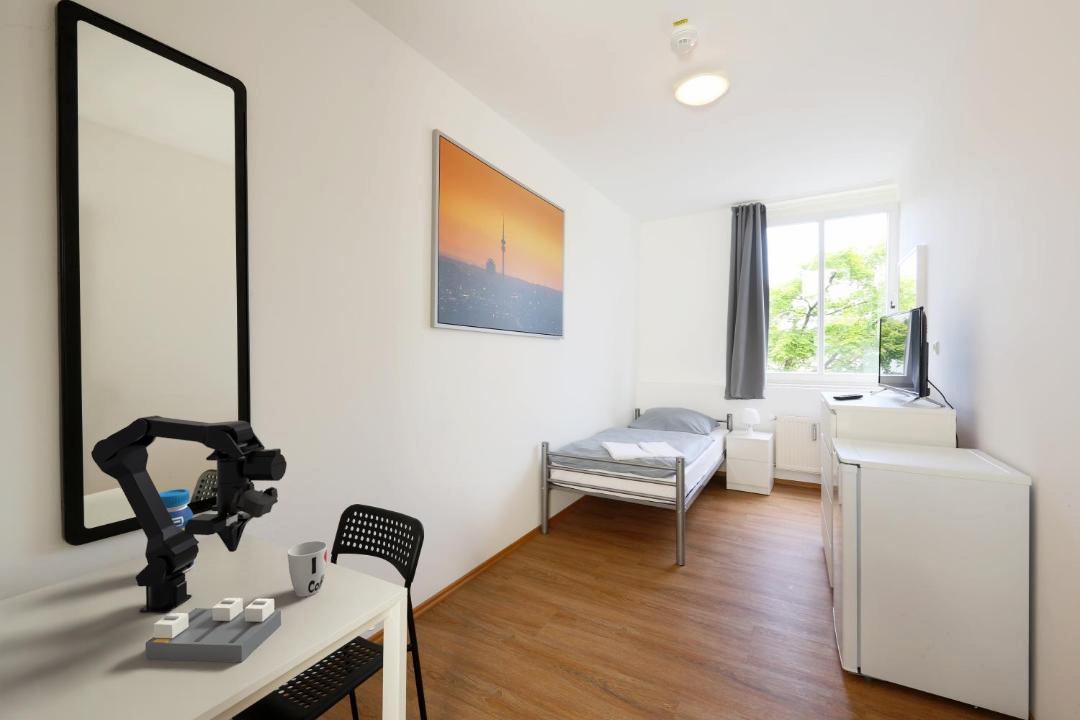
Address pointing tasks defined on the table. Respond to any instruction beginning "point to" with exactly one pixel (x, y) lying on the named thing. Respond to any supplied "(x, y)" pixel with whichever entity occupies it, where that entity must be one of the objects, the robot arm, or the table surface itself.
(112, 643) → the table surface
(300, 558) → the cup
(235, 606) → the switch middle
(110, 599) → the table surface
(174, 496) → the beverage bottle
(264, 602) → the switch far
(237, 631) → the console
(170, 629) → the switch near
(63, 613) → the table surface
